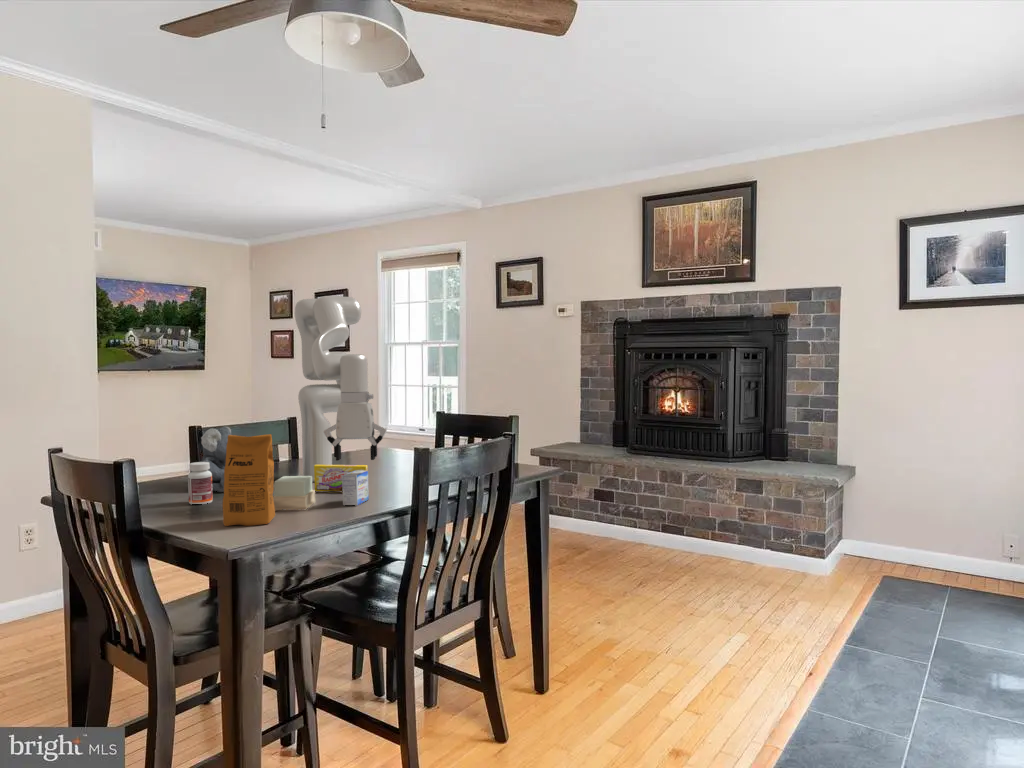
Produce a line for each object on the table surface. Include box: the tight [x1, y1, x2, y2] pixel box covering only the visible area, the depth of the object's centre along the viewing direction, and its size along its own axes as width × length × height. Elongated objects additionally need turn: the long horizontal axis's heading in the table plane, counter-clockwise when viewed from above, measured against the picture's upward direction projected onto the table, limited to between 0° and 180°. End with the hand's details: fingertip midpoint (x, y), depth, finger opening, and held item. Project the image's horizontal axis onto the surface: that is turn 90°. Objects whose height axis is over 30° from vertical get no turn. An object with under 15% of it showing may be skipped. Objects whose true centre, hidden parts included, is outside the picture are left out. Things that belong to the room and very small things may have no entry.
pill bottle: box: [187, 461, 214, 505], centre depth 194 cm, size 6×6×11 cm
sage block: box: [273, 475, 313, 496], centre depth 189 cm, size 8×8×4 cm
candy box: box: [314, 464, 369, 491], centre depth 209 cm, size 16×2×8 cm, turn 86°
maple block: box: [273, 489, 316, 511], centre depth 189 cm, size 9×9×4 cm
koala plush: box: [200, 425, 233, 493], centre depth 216 cm, size 17×18×20 cm
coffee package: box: [222, 433, 276, 527], centre depth 172 cm, size 10×12×22 cm
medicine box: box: [342, 470, 370, 507], centre depth 193 cm, size 8×4×9 cm, turn 168°
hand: (355, 459), depth 192 cm, fingers open, 9 cm apart
